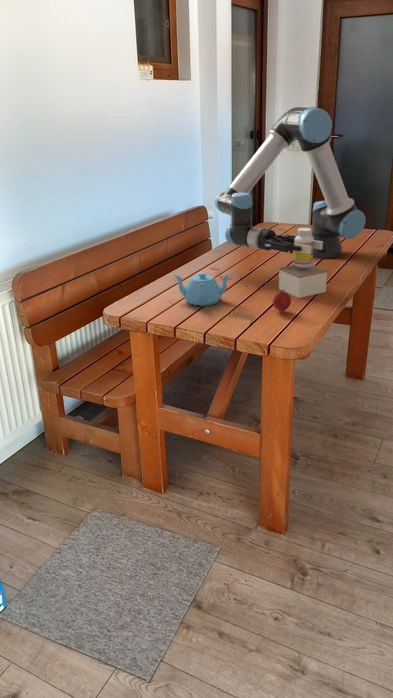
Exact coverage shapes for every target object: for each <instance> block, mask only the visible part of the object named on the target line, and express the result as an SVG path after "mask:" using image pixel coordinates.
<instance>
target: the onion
mask: <svg viewBox="0 0 393 698" xmlns="http://www.w3.org/2000/svg"><path fill="white" fill-rule="evenodd" d="M291 302H292V299H291V297H290V294H289V293H286V292H284V290H283V289H281V290H279V291H278V292H277V293H275V294H274V296H273V300H272V305H273V306H274V308H275V309H276V310H277V311H278V312H279V313H284V312H285V311H286V310H287V309H289V308H290V306H291Z"/></svg>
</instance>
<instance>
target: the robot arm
mask: <svg viewBox="0 0 393 698" xmlns="http://www.w3.org/2000/svg"><path fill="white" fill-rule="evenodd" d="M332 128H333V121H332V118H331V116H330V115H329V113H328V112H327V111H326V110H325V109H323V108H320V107H319V108H318V107H316V106H310V107H309V106H308V107H302V106H301V107H300V106H299V107H298V106H297V107H293V108H291V109H289V110H287V111H286V112H284V113H283V114H282V116H281V117H280V118H279V119H278V120H277V121H276V122H275V124H273V126H272V127H271V128H270V130H268V136H267V138H266V139H264V141H263V143H262V144H261V145H260V146H259V148H258V149H257V150H256V152H255V153H254V154H253V156H252V157H251V158H250V159H249V161H248V162H247V163H246V164H245V166H244V167H243V169H241V170H240V172H239V173H238V175H237V176H236V177H235V178H234V180H233V181H232V182H231V183H230V185H229V186H228V188H227V189H226V190H225V191H223V192H220V193H218V194H217V195H216V197H215V199H214V205H215V207H216V209H217V210H218V211H219V212H221V213H223V214H226V215H228V216H231V224H229V225H228V226H226V227H227V228H226V231H225V234H224V235H225V239H226V241H227V242H228V243H229V244H232V245H234V246H235V245H236V246H242V247H246V248H247V247H248V248H254V250H258V249H259V250H264V251H271V250H275V251H279V252H283V253H289V254H294V252H300V253H306V254H311V246H309V245H302V244H296V243H295V244H294V240H295V237H296V236H297V235H293V234H292V235H291V234H286V233H285V234H284V235H281V234H278V235H277V234H276V232H275V231H274V230H273V229H267V228H262V227H256V226H255V227H254V226H253V225H252V218H253V217H252V214H253V212H252V211H253V210H252V208H253V206H252V205H253V202H252V195H251V193H250V192H251V190H252V189H253V188H254V187H255V186H256V185H257V183H258V181H259V180H260V179H261V178H262V176H264V174H265V173H266V171H267V170H268V169H269V168H270V166H271V165H272V164H273V163H274V161H275V160H276V159H277V158H278V157H279V155H280V154H281V153H282V152H283V150H284V149H289V147H290V145H292V144H293V143H294V142H296V141H297V142H298V145H299V148H300V150H301V152H302V153H305V154H307V156H308V159H309V161H310V164H311V167H312V169H313V172H314V175H315V177H316V179H317V182H318V185H319V188H320V190H321V193H322V195H323V198H324V200H319V201H315V202H314V203H313V207H312V223H311V224H312V226H311V227H312V228H311V236H312V237H313V239H314V244H313V258H315V259H335V258H338V257H339V258H340V257H341V256H343V247H342V243H341V239H340V238H342V239H346V240H348V239H349V240H351V239H355V238H356V237H358V236H360V234H361V233H362V232H363V230H364V227H365V225H366V216H365V214H364V212H362V211H361V210H359V209H357V205H356V203H355V200H354V199H353V198H350V197H349V196H348V193H347V190H346V187H345V185H344V182H343V179H342V176H341V174H340V171H339V170H340V169H339V167H338V165H337V161H336V160H335V156H334V154H333V151H332V148H331V146H330V142H331V140H332V136H331V133H332Z"/></svg>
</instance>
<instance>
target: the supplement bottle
mask: <svg viewBox="0 0 393 698" xmlns="http://www.w3.org/2000/svg"><path fill="white" fill-rule="evenodd" d="M295 236H296V237H295V240H294V244H295V243H296V244H302V245H309V246H311V254H306V253H300V252H294V251H293V265H295V266H297V267H310V266H311V265H314V264H313V263H314V257H313V244H314V239H313V237H312V228H310V227H299V228H298V229H297V235H295Z"/></svg>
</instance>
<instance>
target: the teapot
mask: <svg viewBox="0 0 393 698" xmlns="http://www.w3.org/2000/svg"><path fill="white" fill-rule="evenodd" d="M231 274H232V272H228V273H226V274H224V275H223V277H222V283H221V284H220V285H219V283H218V282H217V280H216V279H215V277H214V276H212V275H211V274H207V273H206V272H204V271H202V272H199V273H198V274H197V275H193V276H192V277H191V278H190V279H189V281H188V282H187V284H186V286H185V285H184V284H183V279H182V278H183V277H181V276H180V275H178V274H173V276H174V277H175V278H176V279H177V282H178V290H179V293H180V294H181V296H184V299H185V301H186V302H187V303H188V304H190V305H192V304H193V305H192V306H196V305H200V306H199V307H207V305H208V306H212V305H215V304H217V303H218V302H219V301H220V300H221V298H222V296H223V295H224V294H225V293H226V291H227V286H228V283H227V280H228V277H229V276H230V275H231Z"/></svg>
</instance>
